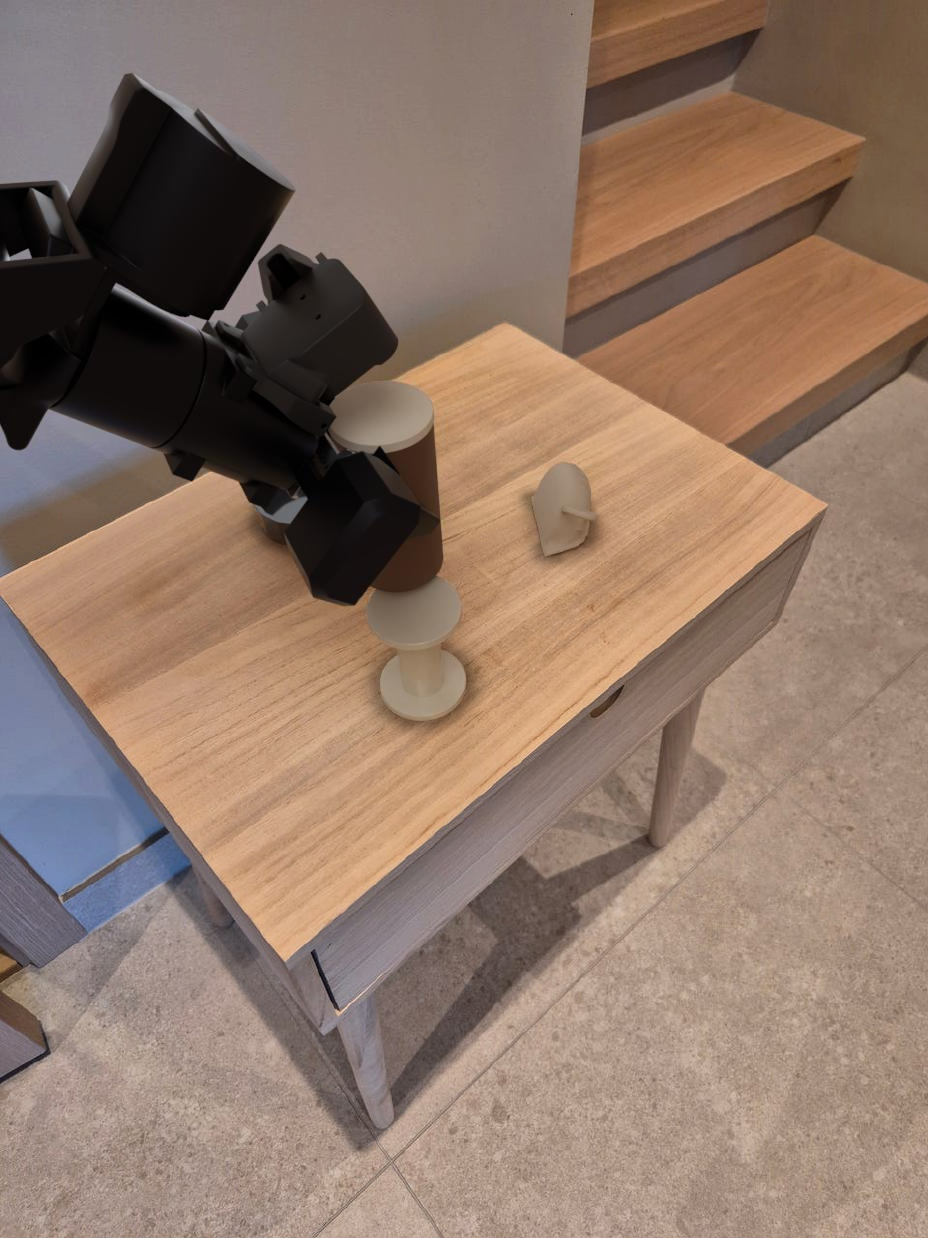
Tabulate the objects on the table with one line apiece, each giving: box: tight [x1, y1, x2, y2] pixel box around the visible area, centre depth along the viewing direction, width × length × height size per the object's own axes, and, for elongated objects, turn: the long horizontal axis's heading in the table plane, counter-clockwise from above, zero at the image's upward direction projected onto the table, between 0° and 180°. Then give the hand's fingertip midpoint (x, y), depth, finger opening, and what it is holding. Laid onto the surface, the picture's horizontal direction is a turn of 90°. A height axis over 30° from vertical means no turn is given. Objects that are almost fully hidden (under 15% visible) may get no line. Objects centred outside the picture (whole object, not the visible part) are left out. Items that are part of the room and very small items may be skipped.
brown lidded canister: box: [328, 380, 444, 592], centre depth 48 cm, size 6×6×11 cm
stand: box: [365, 575, 467, 722], centre depth 54 cm, size 6×6×8 cm
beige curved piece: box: [530, 461, 599, 558], centre depth 64 cm, size 4×8×5 cm, turn 4°
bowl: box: [252, 488, 307, 546], centre depth 68 cm, size 8×8×2 cm
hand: (413, 495), depth 49 cm, fingers closed on brown lidded canister, 5 cm apart
